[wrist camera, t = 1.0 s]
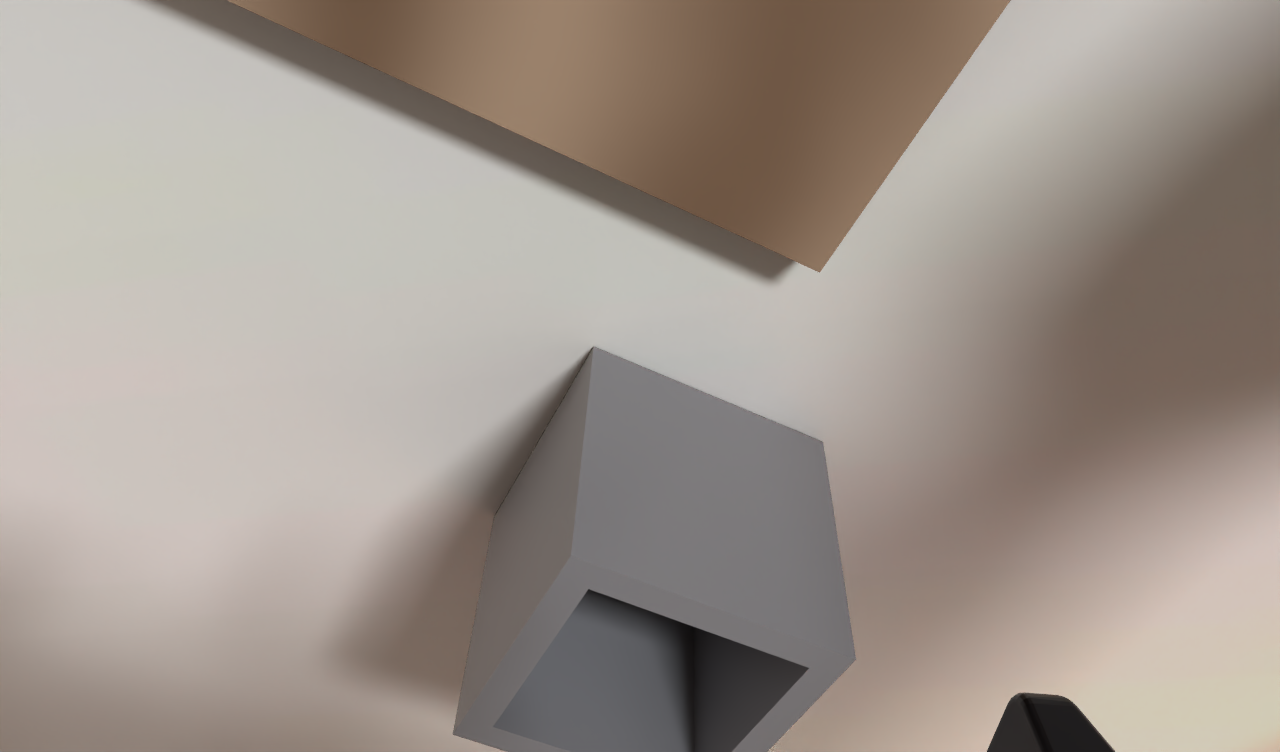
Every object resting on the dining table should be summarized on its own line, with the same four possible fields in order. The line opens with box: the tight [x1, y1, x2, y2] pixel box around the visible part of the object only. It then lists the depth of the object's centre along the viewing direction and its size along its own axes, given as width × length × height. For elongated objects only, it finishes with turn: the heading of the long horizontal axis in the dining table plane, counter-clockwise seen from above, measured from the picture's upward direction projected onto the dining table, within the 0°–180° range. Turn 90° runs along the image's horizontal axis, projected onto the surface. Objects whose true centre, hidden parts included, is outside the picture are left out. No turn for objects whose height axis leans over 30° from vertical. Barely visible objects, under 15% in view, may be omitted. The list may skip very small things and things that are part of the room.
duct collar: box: [453, 347, 856, 752], centre depth 23 cm, size 6×6×6 cm
